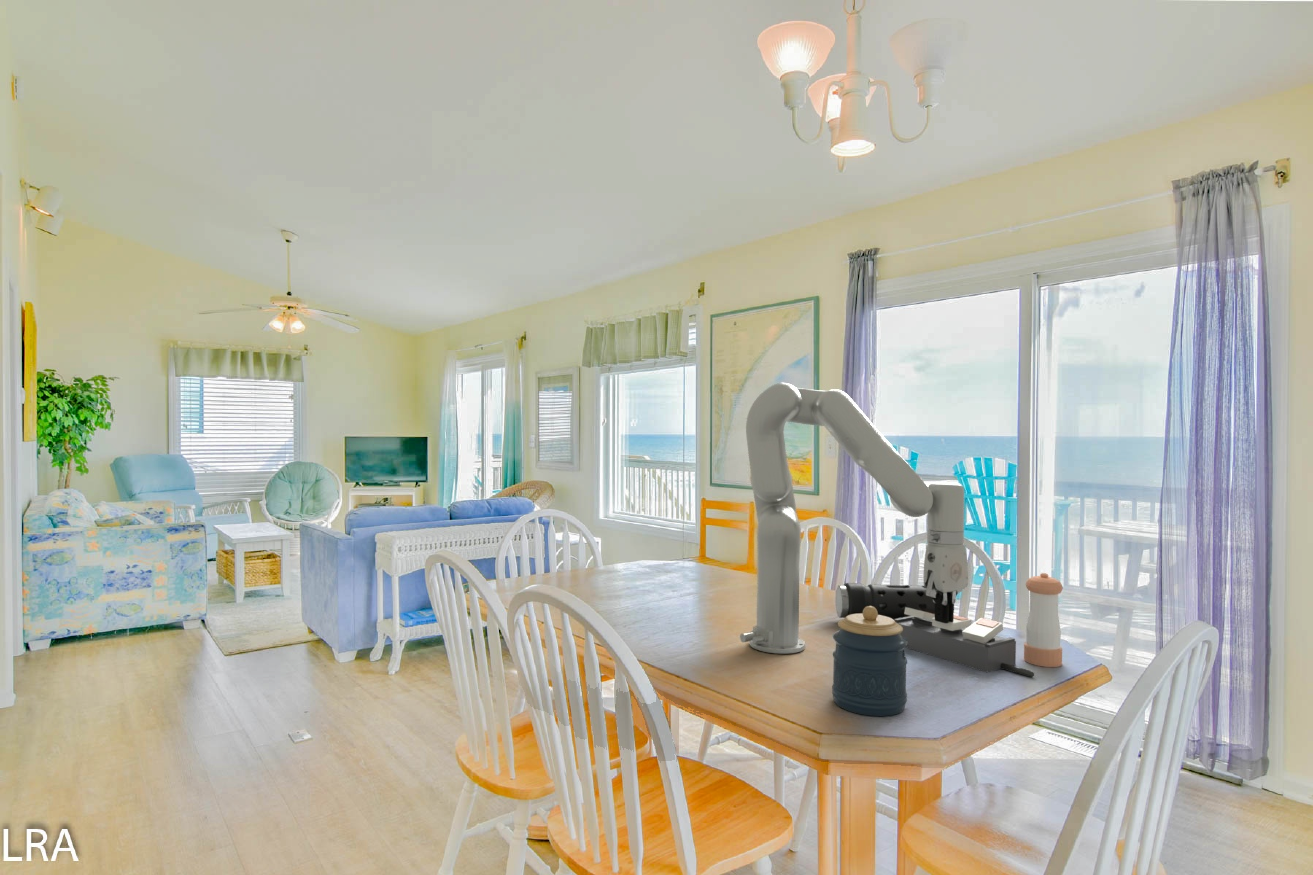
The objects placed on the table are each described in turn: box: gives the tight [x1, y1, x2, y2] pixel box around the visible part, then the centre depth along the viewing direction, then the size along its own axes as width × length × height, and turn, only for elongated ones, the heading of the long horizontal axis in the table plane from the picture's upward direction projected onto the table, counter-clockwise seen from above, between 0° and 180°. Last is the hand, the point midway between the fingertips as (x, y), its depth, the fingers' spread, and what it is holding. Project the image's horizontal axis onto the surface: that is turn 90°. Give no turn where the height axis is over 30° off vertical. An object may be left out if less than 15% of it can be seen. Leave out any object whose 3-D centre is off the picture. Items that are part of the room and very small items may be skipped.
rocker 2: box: [932, 614, 972, 631], centre depth 163 cm, size 7×5×2 cm
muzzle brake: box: [834, 582, 941, 620], centre depth 188 cm, size 10×28×10 cm, turn 89°
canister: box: [831, 606, 908, 717], centre depth 131 cm, size 13×13×18 cm
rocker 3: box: [962, 617, 1004, 644], centre depth 156 cm, size 7×5×2 cm
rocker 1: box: [904, 607, 935, 621], centre depth 169 cm, size 7×5×2 cm
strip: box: [894, 616, 1035, 678], centre depth 160 cm, size 10×31×6 cm, turn 33°
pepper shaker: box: [1023, 572, 1064, 668], centre depth 157 cm, size 7×7×19 cm
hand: (943, 620), depth 161 cm, fingers closed
